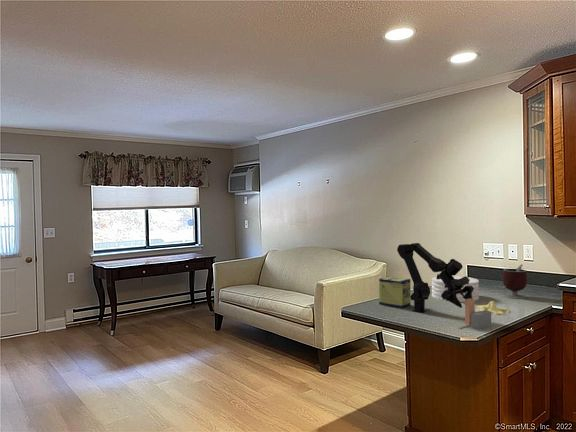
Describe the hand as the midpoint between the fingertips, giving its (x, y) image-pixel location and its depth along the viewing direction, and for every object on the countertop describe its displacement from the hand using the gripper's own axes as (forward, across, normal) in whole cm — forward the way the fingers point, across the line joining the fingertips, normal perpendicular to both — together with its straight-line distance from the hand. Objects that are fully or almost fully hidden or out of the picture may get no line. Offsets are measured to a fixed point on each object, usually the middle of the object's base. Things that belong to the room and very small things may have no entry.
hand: (467, 306), depth 217 cm
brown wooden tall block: (+7, 0, +5) cm, 8 cm away
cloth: (0, +32, +14) cm, 35 cm away
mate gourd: (-12, +79, +24) cm, 83 cm away
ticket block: (+11, -3, +2) cm, 11 cm away
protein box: (-29, -1, +41) cm, 50 cm away
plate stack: (-26, +46, +38) cm, 65 cm away
